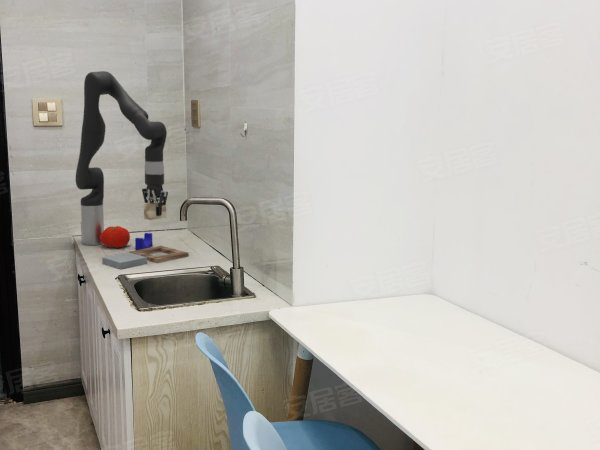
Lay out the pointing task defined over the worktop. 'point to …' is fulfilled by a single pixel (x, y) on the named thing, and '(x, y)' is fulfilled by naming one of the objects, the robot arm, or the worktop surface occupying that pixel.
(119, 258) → the plinth
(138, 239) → the cable clip
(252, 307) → the worktop surface
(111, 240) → the tomato
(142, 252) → the board
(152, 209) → the ash block
